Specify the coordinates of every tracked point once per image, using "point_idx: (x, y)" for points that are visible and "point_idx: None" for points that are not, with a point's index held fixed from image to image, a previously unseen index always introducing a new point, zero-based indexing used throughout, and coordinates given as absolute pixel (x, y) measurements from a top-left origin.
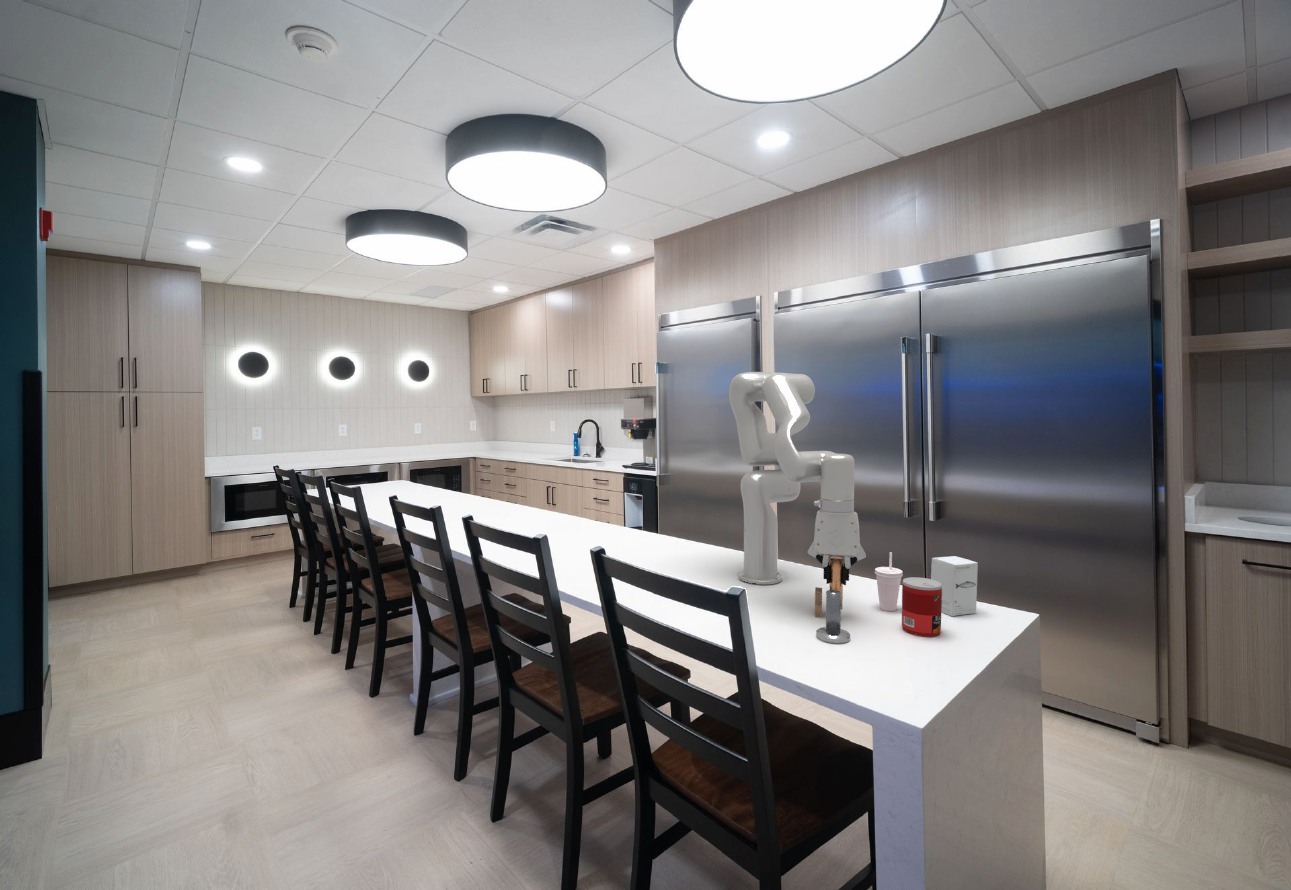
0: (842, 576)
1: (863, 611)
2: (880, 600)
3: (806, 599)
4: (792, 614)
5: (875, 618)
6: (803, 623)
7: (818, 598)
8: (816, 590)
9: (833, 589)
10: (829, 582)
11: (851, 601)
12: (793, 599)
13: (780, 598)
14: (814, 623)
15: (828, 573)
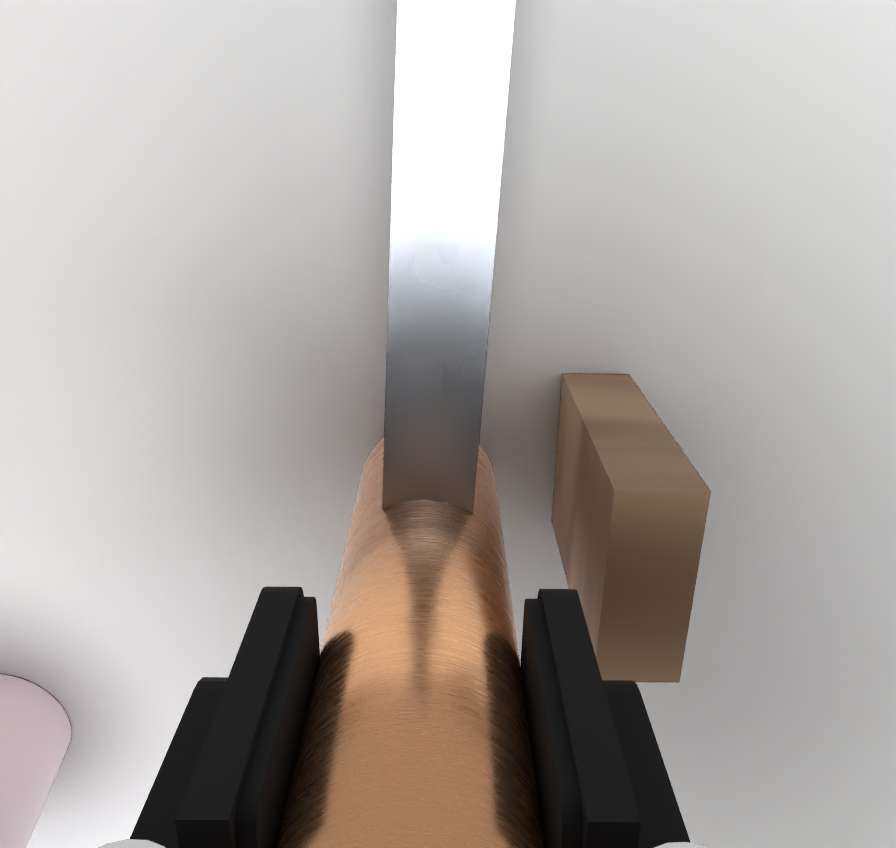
0: (304, 733)
1: (193, 622)
2: (23, 758)
3: None
4: (840, 391)
5: (77, 482)
6: (763, 154)
7: (641, 452)
8: (682, 562)
9: (459, 548)
10: (529, 602)
11: None
12: (773, 751)
13: (883, 749)
14: (647, 187)
15: (572, 709)
